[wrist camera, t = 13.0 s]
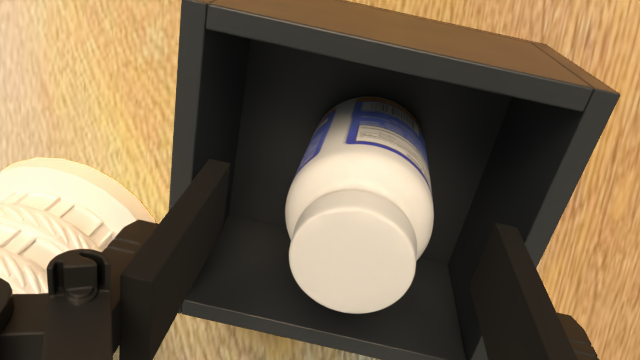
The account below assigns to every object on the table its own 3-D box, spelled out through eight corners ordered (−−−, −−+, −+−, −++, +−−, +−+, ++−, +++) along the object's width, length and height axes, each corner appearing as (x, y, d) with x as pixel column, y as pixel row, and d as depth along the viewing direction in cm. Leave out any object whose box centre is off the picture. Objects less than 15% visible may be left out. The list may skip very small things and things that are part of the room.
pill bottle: (340, 210, 26) (309, 349, 17) (294, 118, 24) (233, 223, 15) (442, 175, 24) (464, 311, 15) (401, 73, 22) (401, 164, 14)
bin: (546, 44, 22) (621, 94, 15) (456, 272, 27) (480, 382, 21) (243, -23, 22) (181, -3, 15) (216, 217, 28) (162, 310, 21)
